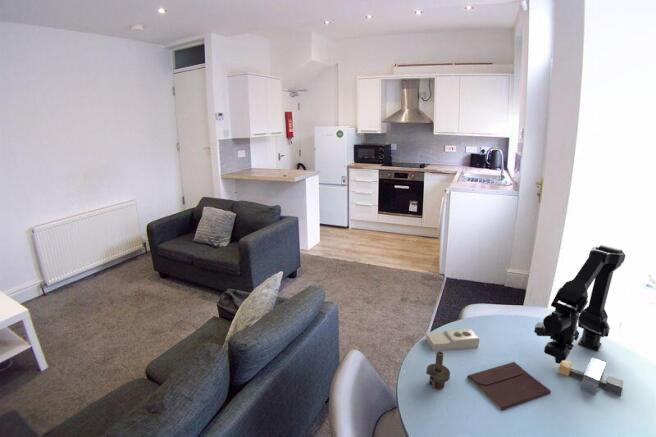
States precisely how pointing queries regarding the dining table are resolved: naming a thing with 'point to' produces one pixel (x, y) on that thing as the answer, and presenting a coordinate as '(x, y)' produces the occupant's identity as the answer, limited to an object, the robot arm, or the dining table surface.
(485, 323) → the dining table surface
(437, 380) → the industrial component
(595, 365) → the plate
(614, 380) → the plug
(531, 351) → the dining table surface
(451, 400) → the dining table surface
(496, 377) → the brown leather pouch
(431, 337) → the electrical outlet
